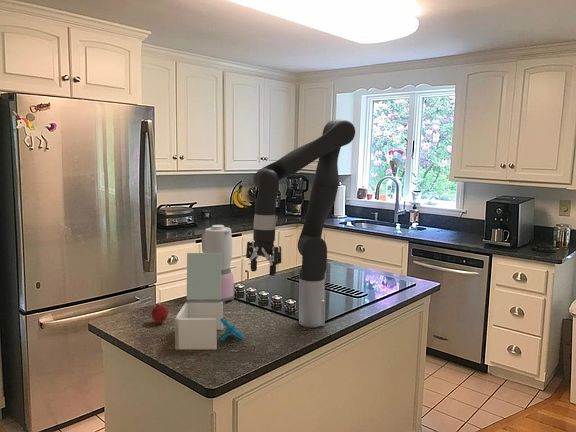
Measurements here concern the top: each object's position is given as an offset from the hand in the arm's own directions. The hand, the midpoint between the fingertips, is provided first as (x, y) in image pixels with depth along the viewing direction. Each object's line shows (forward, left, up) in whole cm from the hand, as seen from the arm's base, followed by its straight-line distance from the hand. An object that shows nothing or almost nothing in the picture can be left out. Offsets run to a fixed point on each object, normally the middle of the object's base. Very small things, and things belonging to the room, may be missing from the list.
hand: (262, 273), depth 165 cm
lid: (+21, -2, -2) cm, 21 cm away
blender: (+21, -35, -21) cm, 47 cm away
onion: (+38, -7, -21) cm, 45 cm away
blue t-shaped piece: (+11, +7, -21) cm, 25 cm away
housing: (+21, +7, -21) cm, 31 cm away
